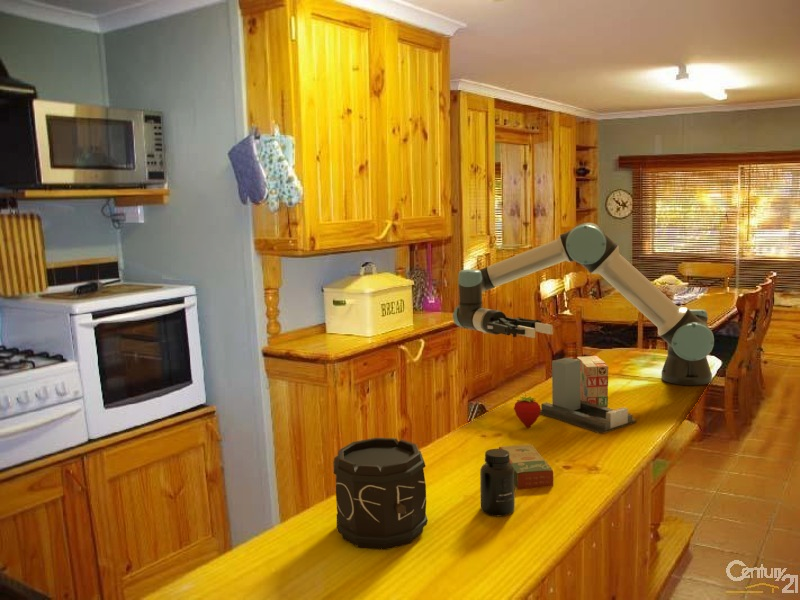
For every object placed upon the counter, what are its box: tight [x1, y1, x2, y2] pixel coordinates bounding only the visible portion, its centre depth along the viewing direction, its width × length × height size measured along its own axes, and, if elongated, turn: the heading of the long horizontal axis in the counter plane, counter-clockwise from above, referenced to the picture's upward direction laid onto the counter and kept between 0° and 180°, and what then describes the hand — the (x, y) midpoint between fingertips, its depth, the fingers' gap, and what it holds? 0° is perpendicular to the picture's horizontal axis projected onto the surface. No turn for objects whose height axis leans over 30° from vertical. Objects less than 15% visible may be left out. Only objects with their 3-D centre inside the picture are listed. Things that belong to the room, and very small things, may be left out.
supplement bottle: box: [479, 448, 516, 517], centre depth 143 cm, size 7×7×12 cm
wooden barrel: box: [332, 437, 428, 551], centre depth 136 cm, size 18×18×16 cm
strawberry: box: [513, 391, 541, 429], centre depth 191 cm, size 6×8×10 cm
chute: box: [540, 399, 637, 434], centre depth 198 cm, size 14×23×5 cm, turn 34°
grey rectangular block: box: [551, 357, 581, 411], centre depth 203 cm, size 6×5×14 cm
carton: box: [498, 444, 554, 490], centre depth 161 cm, size 8×16×4 cm, turn 6°
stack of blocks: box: [576, 355, 609, 407], centre depth 217 cm, size 21×6×12 cm, turn 0°
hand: (542, 331), depth 208 cm, fingers open, 6 cm apart
